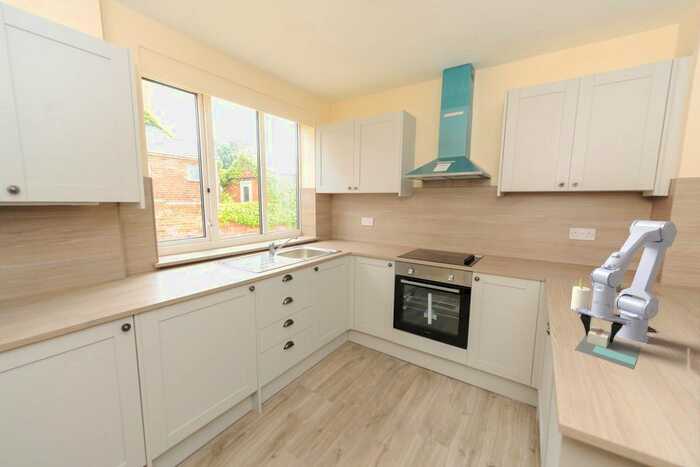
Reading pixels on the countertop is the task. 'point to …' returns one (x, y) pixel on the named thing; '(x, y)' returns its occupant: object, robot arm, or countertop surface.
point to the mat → (612, 352)
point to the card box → (599, 336)
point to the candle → (580, 297)
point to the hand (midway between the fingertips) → (599, 338)
